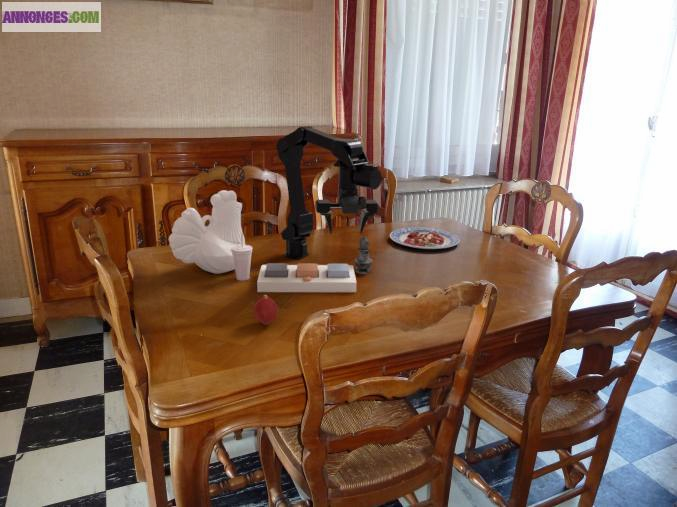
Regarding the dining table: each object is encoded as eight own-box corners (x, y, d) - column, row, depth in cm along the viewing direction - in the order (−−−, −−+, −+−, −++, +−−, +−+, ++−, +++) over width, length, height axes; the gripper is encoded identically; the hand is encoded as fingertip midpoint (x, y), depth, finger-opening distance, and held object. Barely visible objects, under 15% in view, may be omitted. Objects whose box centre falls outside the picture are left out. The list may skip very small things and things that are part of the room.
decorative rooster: (235, 256, 176) (232, 183, 168) (256, 270, 164) (254, 192, 156) (160, 270, 162) (153, 191, 154) (178, 287, 150) (170, 202, 142)
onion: (255, 319, 131) (254, 290, 129) (278, 318, 132) (277, 289, 129) (253, 330, 126) (252, 299, 123) (277, 329, 127) (277, 299, 124)
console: (257, 291, 148) (257, 280, 147) (262, 274, 161) (261, 263, 160) (356, 292, 149) (356, 280, 148) (352, 274, 162) (353, 263, 161)
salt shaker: (371, 275, 162) (372, 238, 158) (352, 273, 163) (353, 236, 159) (373, 268, 168) (375, 233, 164) (355, 267, 169) (356, 231, 165)
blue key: (327, 280, 152) (328, 270, 151) (327, 272, 158) (327, 263, 157) (348, 280, 152) (348, 270, 151) (347, 273, 158) (347, 263, 157)
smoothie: (257, 276, 159) (256, 232, 155) (247, 283, 154) (245, 238, 149) (238, 273, 161) (236, 229, 157) (228, 280, 155) (225, 235, 151)
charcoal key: (265, 280, 151) (265, 270, 150) (267, 272, 157) (267, 263, 156) (286, 280, 151) (286, 270, 150) (287, 272, 157) (287, 263, 156)
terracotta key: (296, 280, 151) (296, 270, 150) (297, 272, 157) (297, 263, 156) (317, 280, 152) (317, 270, 151) (317, 272, 157) (317, 263, 156)
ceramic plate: (391, 230, 210) (391, 223, 209) (456, 234, 206) (457, 227, 205) (387, 251, 185) (388, 243, 184) (461, 256, 182) (462, 247, 181)
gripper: (319, 189, 146) (318, 242, 151) (384, 189, 149) (381, 241, 154) (315, 180, 156) (314, 230, 162) (376, 181, 159) (373, 230, 165)
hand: (345, 233), depth 160 cm, fingers open, 9 cm apart
